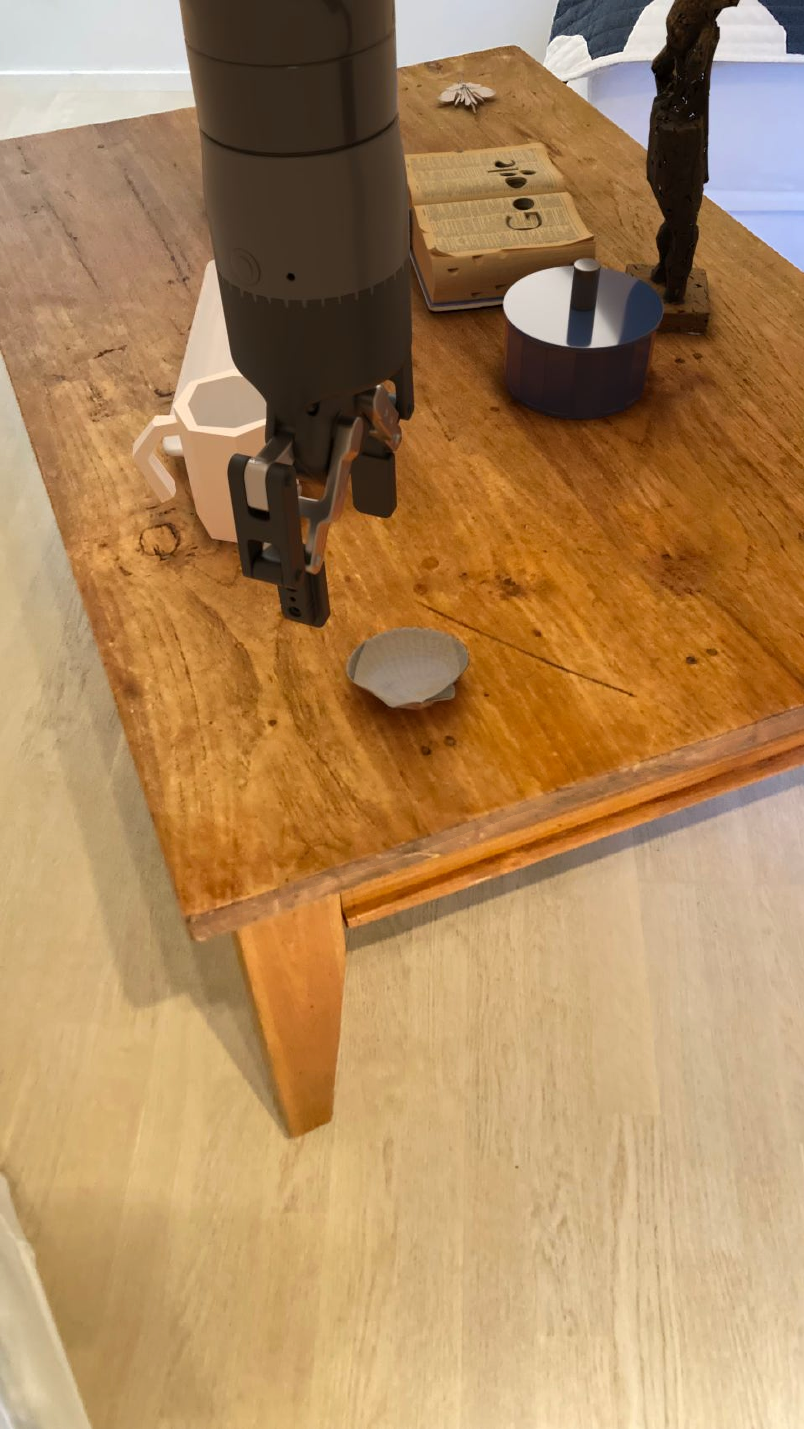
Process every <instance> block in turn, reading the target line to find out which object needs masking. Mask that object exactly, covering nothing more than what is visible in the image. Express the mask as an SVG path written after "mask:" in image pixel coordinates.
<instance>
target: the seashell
mask: <svg viewBox="0 0 804 1429" xmlns="http://www.w3.org/2000/svg"><path fill="white" fill-rule="evenodd" d="M469 664H470V653H469V650H468V649H467V647H466V645H465V644H464V643H463V642H461V641H460V639H459V638H456V637H455V636H454V635H453V634H449V633H447V632H445V631H440V630H438V629H435V628H434V629H431V628H430V627H427V626H426V627H420V626H411V627H408V626H402V627H399V628H398V627H392V629H390V630H389V629H388V630H384V631H382V632H380V633H375V634H373V636H371V637H370V638H367V639H365V640H363V642H362V643H359V644H358V645H357V646H356V648H354V649H353V650H352V652H351V653H350V655H349V656H348V659H347V660H346V666H345V673H346V676H347V677H348V678H349V679H350V682H352V683H353V684H354V685H356V686H357V687H359V688H360V689H363V690H364V691H366V692H367V693H370V694H371V695H372V696H374V697H376V698H378V699H379V700H380V701H382V702H383V703H384V704H385V705H387V706H388V707H390V708H392V709H406V710H411V711H413V710H414V711H418V710H419V711H421V710H424V709H427V708H429V707H430V706H431V705H434V704H435V703H436V702H441V701H451V700H453V699H454V698H455V697H456V688H455V685H456V684H457V683H458V680H459V679H460V678H461V676H462V675H463V674H464V672H465V671H466V670H467V669H468V666H469Z"/></svg>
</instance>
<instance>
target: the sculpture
mask: <svg viewBox="0 0 804 1429" xmlns="http://www.w3.org/2000/svg"><path fill="white" fill-rule="evenodd" d="M740 1H741V0H673V3H672V5H671V7H670V9H669V11H668V13H667V16H666V18H665V28H666V36H665V42H666V44H665V45H664V46H663V48H661V50H660V51H659V52H658V53H657V55H656V56H655V57H653V60H652V62H651V66H650V70H651V72H652V74H653V75H654V82H655V89H656V96H654V97H653V100H652V105H651V111H650V113H649V114H650V115H649V120H648V121H649V130H648V138H647V140H648V141H647V152H646V161H645V170H646V172H645V173H646V177H645V178H646V181H647V182H648V184H649V187H650V189H651V191H652V193H653V196H654V198H655V200H656V202H657V205H658V207H659V209H660V211H661V214H662V216H663V218H664V220H663V222H662V223H661V224H660V226H659V227H658V230H657V233H656V237H655V243H656V249H657V251H658V263H657V264H646V263H627V265H626V266H625V271H624V273H626V274H629V275H631V276H633V277H636V278H638V279H640V280H641V281H643V282H645V283H646V284H648V285H649V286H650V287H651V288H653V289H654V290H655V291H656V293H657V294H658V295H659V297H660V298H661V300H662V303H663V307H664V311H663V318H662V322H661V324H660V326H659V328H658V329H657V332H656V334H660V333H664V334H665V333H671V334H688V335H698V336H699V335H704V334H705V333H707V332H709V331H708V327H709V326H708V325H709V323H710V315H711V307H710V298H709V282H708V275H707V270H706V269H704V268H696V267H693V265H694V257H695V253H696V249H697V247H698V246H697V245H698V241H699V238H700V228H699V225H698V224H697V223H698V219H699V218H698V217H699V212H700V210H701V208H702V204H703V197H704V191H705V188H704V185H705V184H708V183H709V181H710V174H709V173H710V172H709V144H710V142H709V135H710V90H711V78H712V77H711V76H712V70H713V69H712V68H713V62H714V58H715V54H716V51H717V49H718V48H717V47H718V44H719V42H720V40H721V26H719V25H718V21H717V19H718V17H719V16H720V14H721V13H722V11H723V10H724V9H728V8H732V7H733V8H737V7H738V5H739V3H740ZM679 311H683V312H680V313H679ZM691 327H692V328H691Z"/></svg>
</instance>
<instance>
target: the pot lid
mask: <svg viewBox="0 0 804 1429" xmlns="http://www.w3.org/2000/svg"><path fill="white" fill-rule="evenodd" d="M658 294H659V293H656V291H655V290H654V289H653V288H651V287H650V286H649V285H648V284H646V283H645V282H643V281H641V280H640V279H638V278H636V277H633V276H631V275H629V274H626V273H625V272H622V271H620V270H616V269H612V268H606V267H602V265H601V263H600V262H599V261H598V260H597V259H595V260H594V259H589V258H584V259H579V260H577V261H576V262H575V263H574V266H563V267H556V268H550V269H545V270H542V271H538V272H535V273H533V274H530V275H528V276H526V277H524V278H522V279H520V280H519V281H517V282H516V283H515V284H514V285H512V286H511V287H510V289H509V290H508V291H507V293H506V295H505V297H504V300H503V304H502V314H503V318H504V320H505V323H506V322H507V324H508V325H509V326H510V327H511V328H512V329H513V330H514V331H515V332H516V333H517V334H519V335H520V336H522V337H523V338H525V339H527V340H529V341H531V342H533V343H535V344H538V345H540V346H543V347H546V348H550V349H554V350H559V351H564V352H571V353H604V352H611V351H616V350H621V349H625V348H628V347H631V346H634V345H636V344H638V343H640V342H642V341H644V340H645V339H647V338H649V337H650V336H651V335H652V334H654V332H655V331H656V330H657V329H658V328H659V326H660V324H661V322H662V318H663V311H664V307H663V303H662V300H661V298H660V297H659V295H658Z"/></svg>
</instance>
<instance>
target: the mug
mask: <svg viewBox="0 0 804 1429" xmlns="http://www.w3.org/2000/svg"><path fill="white" fill-rule="evenodd" d="M266 405H267V404H266V401H265V399H264V398H263V397H262V395H261V394H260V393H259V392H258V391H257V389H256V388H255V387H254V386H253V385H252V384H251V383H250V382H249V381H248V380H247V379H245V378H244V377H243V376H242V375H241V373H240V372H239V371H238V370H237V369H231V370H227V371H224V372H221V373H217V374H214V375H211V376H207V377H204V378H201V379H198V380H194V381H191V382H189V383H188V385H187V386H186V388H185V389H184V391H183V392H182V393H181V395H180V396H179V398H178V399H177V400H176V402H175V403H174V405H173V409H174V414H175V415H170V414H168V415H167V414H165V415H160V414H159V415H154V417H153V418H152V419H151V420H150V422H149V423H148V424H147V425H146V427H145V428H144V430H143V431H141V433H140V435H139V436H138V437H137V439H135V441H133V446H132V455H131V458H132V460H133V461H134V464H135V465H136V466H137V468H138V469H139V471H140V472H141V474H142V475H143V477H144V478H145V480H146V481H147V483H148V484H149V486H150V487H151V489H152V491H153V492H154V494H155V495H156V497H157V498H158V499H159V502H161V503H162V504H163V503H165V502H167V501H169V500H172V499H173V498H174V497H175V495H176V493H177V489H176V483H175V479H174V478H173V477H172V476H171V474H170V473H169V471H168V470H167V469H166V468H165V466H164V465H163V463H162V462H161V461H160V459H159V458H158V457H157V456H156V454H155V453H154V450H155V449H156V448H157V446H158V445H159V443H160V442H161V441H162V440H163V438H164V437H169V436H176V435H179V436H180V440H181V445H182V449H183V454H184V457H183V458H184V463H185V467H186V471H187V472H186V473H187V476H188V481H189V484H190V489H191V494H192V499H193V503H194V507H195V508H194V509H195V511H196V514H197V517H198V518H199V520H200V522H201V523H202V525H203V526H204V528H205V530H206V532H207V533H208V535H209V536H210V538H211V539H213V540H219V541H225V542H231V543H237V544H238V542H237V536H236V529H235V523H234V516H233V509H232V503H231V496H230V490H229V483H228V477H227V469H228V464H229V461H230V459H231V457H232V456H233V455H234V454H235V453H238V454H242V455H247V456H252V457H255V456H256V455H257V454H258V453H259V452H260V451H261V450H262V448H263V447H264V446H265V445H266V443H265V426H266ZM297 484H299V485H300V480H298V479H297ZM301 495H302V494H301ZM301 495H300V496H301ZM301 497H302V496H301Z"/></svg>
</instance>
